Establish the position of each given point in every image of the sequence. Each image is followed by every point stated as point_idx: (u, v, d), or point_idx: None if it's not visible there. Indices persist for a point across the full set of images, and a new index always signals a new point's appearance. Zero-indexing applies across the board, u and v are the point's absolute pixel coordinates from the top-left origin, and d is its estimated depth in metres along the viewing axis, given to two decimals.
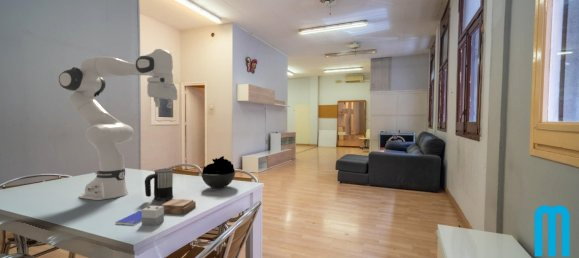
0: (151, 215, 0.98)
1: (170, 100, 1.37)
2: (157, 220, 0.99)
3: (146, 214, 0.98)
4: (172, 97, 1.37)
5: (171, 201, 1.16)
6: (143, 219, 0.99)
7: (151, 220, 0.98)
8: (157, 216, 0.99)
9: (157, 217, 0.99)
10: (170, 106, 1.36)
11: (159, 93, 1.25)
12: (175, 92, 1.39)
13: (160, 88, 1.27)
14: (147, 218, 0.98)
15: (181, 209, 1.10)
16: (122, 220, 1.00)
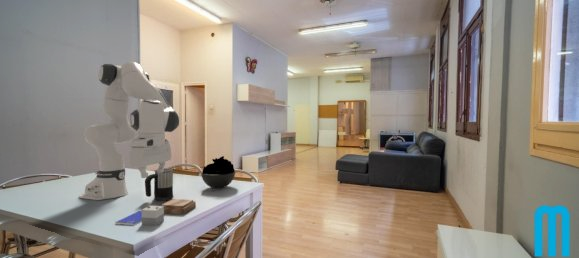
0: (151, 215, 0.98)
1: (162, 162, 1.05)
2: (157, 220, 0.99)
3: (146, 214, 0.98)
4: (164, 159, 1.05)
5: (171, 201, 1.16)
6: (143, 219, 0.99)
7: (151, 220, 0.98)
8: (157, 216, 0.99)
9: (157, 217, 0.99)
10: (162, 171, 1.05)
11: (145, 161, 0.94)
12: (168, 151, 1.07)
13: (147, 153, 0.95)
14: (147, 218, 0.98)
15: (181, 209, 1.10)
16: (122, 220, 1.00)
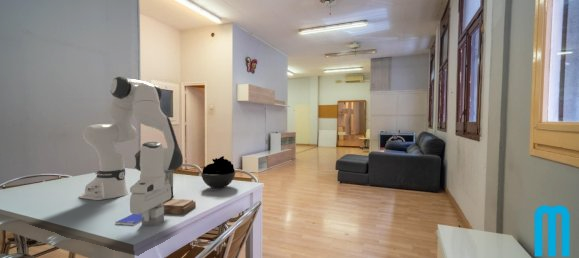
0: (151, 215, 0.98)
1: (160, 204, 1.04)
2: (157, 220, 0.99)
3: None
4: (164, 199, 1.05)
5: (171, 201, 1.16)
6: (143, 219, 0.99)
7: (151, 220, 0.98)
8: (157, 216, 0.99)
9: (157, 217, 0.99)
10: None
11: (146, 206, 0.94)
12: (168, 191, 1.08)
13: (148, 198, 0.95)
14: None
15: (181, 209, 1.10)
16: (122, 220, 1.00)
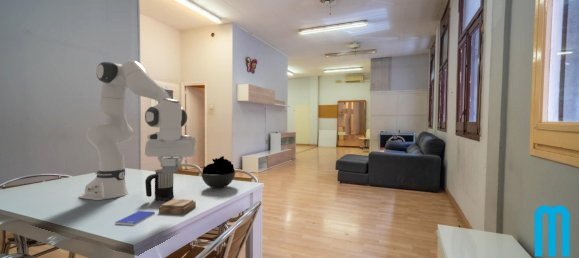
0: None
1: None
2: (163, 168, 1.08)
3: None
4: (181, 154, 1.10)
5: (171, 201, 1.16)
6: None
7: None
8: (164, 165, 1.08)
9: (164, 166, 1.08)
10: (177, 165, 1.11)
11: (153, 152, 1.08)
12: (187, 147, 1.10)
13: (157, 146, 1.09)
14: None
15: (181, 209, 1.10)
16: (122, 220, 1.00)
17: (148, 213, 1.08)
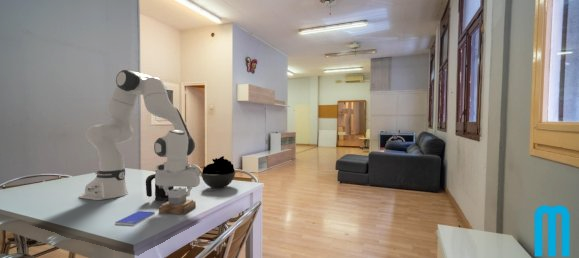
0: None
1: None
2: (170, 200, 1.13)
3: None
4: (185, 184, 1.13)
5: None
6: None
7: None
8: (170, 196, 1.13)
9: (170, 197, 1.13)
10: (185, 194, 1.14)
11: (162, 181, 1.14)
12: (191, 178, 1.12)
13: (165, 175, 1.14)
14: None
15: (181, 209, 1.10)
16: (122, 220, 1.00)
17: (148, 213, 1.08)
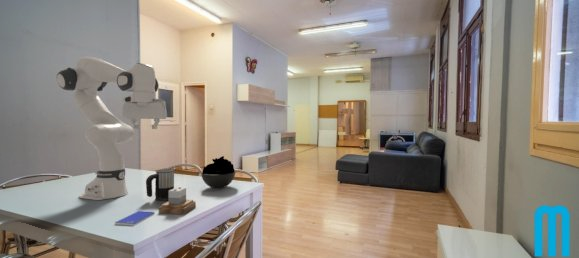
0: None
1: None
2: (170, 200, 1.13)
3: None
4: (152, 116, 1.14)
5: None
6: None
7: None
8: (170, 196, 1.13)
9: (170, 197, 1.13)
10: (152, 127, 1.15)
11: (129, 114, 1.15)
12: (157, 110, 1.14)
13: (132, 108, 1.15)
14: None
15: (181, 209, 1.10)
16: (121, 220, 1.00)
17: (148, 213, 1.08)
